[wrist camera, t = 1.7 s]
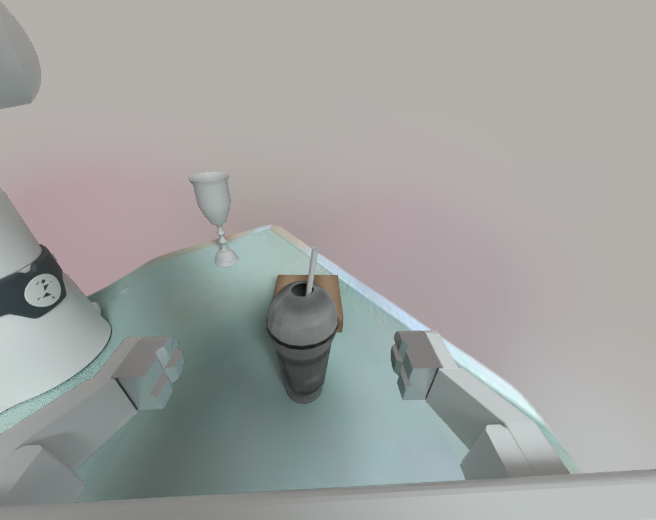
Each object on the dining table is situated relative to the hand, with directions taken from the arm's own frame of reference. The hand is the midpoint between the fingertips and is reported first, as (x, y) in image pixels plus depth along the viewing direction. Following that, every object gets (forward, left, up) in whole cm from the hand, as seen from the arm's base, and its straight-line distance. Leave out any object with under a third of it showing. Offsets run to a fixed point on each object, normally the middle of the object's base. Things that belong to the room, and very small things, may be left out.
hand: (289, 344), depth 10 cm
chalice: (-18, +41, -23) cm, 50 cm away
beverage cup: (0, +12, -23) cm, 26 cm away
